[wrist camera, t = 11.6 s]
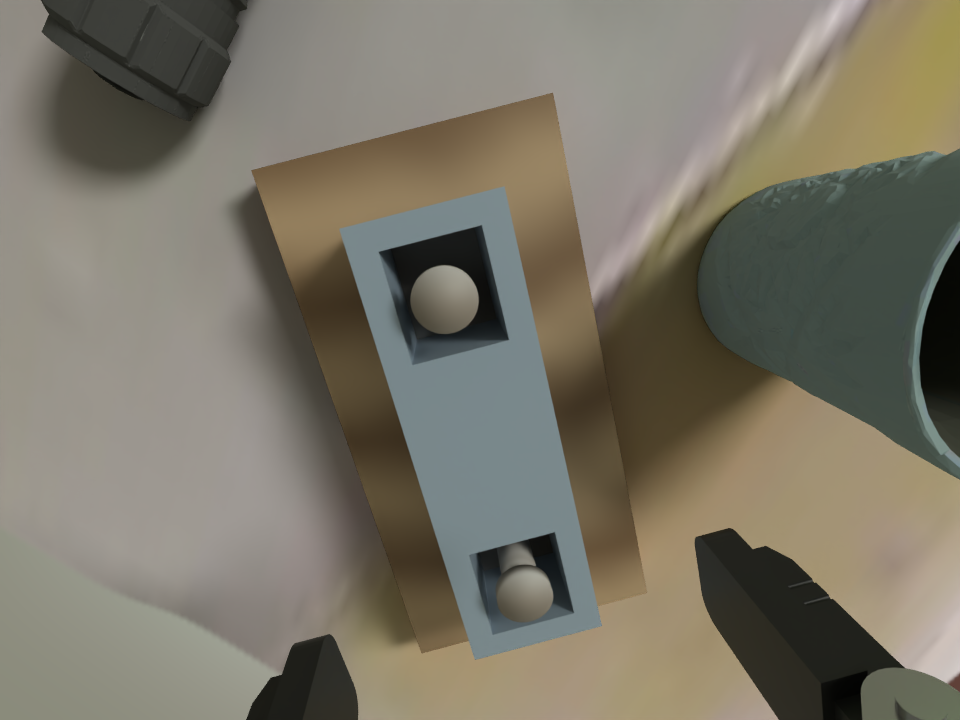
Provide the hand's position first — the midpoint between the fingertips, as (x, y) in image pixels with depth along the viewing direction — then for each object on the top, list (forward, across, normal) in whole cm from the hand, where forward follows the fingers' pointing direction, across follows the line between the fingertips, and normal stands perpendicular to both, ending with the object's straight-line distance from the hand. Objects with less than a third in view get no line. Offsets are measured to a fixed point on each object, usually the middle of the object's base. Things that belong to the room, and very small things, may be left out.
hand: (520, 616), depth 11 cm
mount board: (+14, 0, 0) cm, 14 cm away
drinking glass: (+15, -16, -2) cm, 22 cm away
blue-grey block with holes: (+12, 0, 0) cm, 12 cm away
